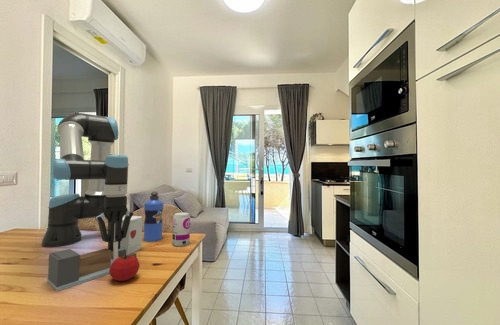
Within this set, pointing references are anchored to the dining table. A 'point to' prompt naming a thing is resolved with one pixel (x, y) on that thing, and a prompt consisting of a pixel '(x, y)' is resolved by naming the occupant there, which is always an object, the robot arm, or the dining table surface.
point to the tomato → (124, 268)
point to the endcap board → (71, 269)
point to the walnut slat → (94, 261)
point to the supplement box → (132, 235)
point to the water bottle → (153, 219)
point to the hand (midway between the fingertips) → (113, 258)
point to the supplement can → (181, 229)
